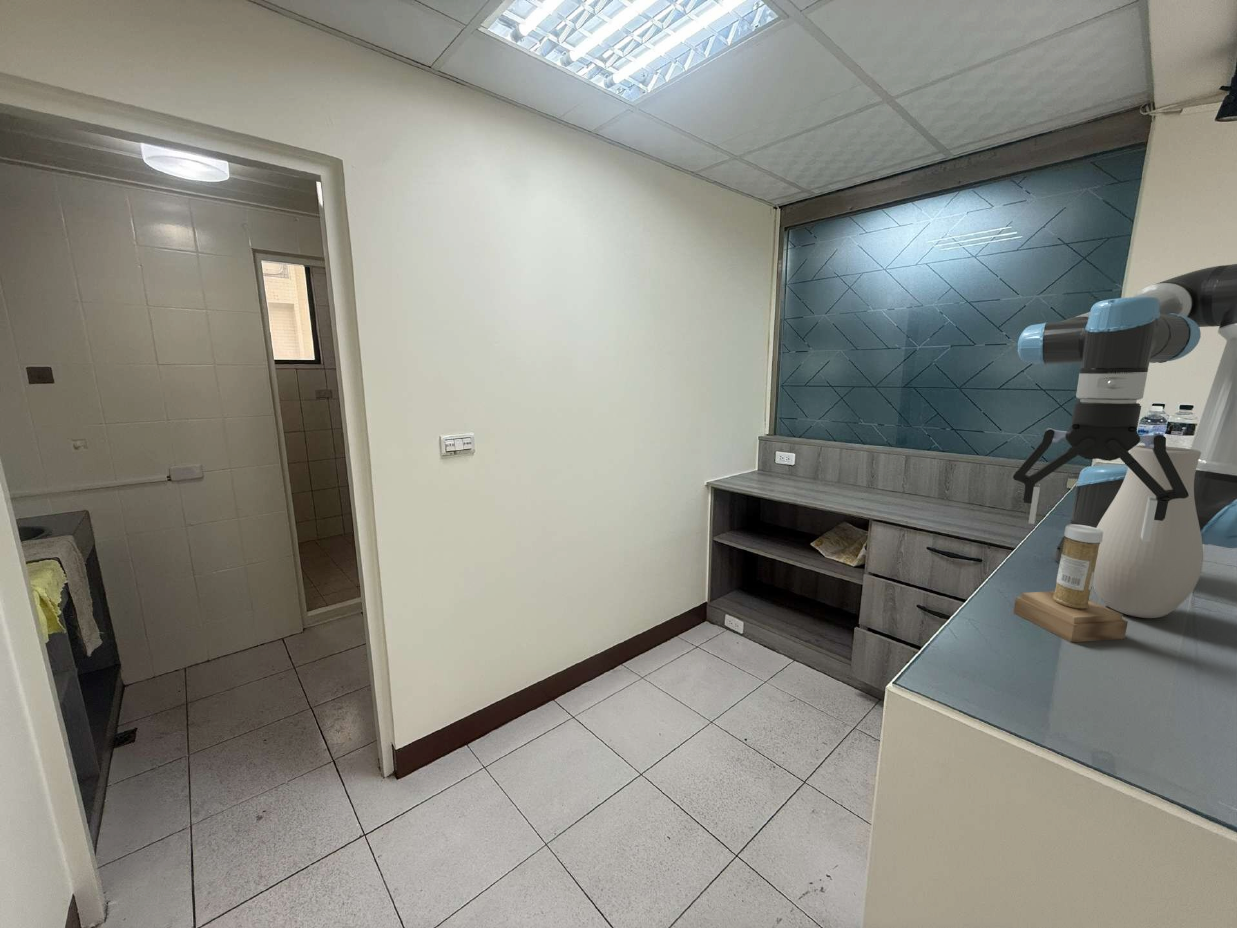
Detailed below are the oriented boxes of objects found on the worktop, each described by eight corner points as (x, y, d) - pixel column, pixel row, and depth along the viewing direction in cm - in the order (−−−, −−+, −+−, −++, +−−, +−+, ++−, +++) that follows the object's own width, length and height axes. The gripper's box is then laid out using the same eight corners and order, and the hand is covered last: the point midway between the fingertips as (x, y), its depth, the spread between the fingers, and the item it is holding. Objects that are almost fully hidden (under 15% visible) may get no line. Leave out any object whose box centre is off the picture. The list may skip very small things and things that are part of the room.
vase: (1188, 613, 88) (1226, 449, 83) (1188, 639, 79) (1231, 457, 74) (1084, 588, 98) (1112, 440, 93) (1074, 609, 89) (1104, 447, 84)
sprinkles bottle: (1095, 608, 81) (1111, 531, 79) (1074, 611, 80) (1090, 532, 78) (1065, 596, 85) (1079, 522, 83) (1044, 598, 84) (1058, 524, 82)
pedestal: (1061, 609, 89) (1065, 589, 88) (1124, 638, 79) (1129, 615, 79) (1013, 612, 88) (1016, 591, 87) (1070, 642, 78) (1075, 619, 77)
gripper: (1004, 399, 82) (988, 520, 86) (1238, 405, 66) (1205, 554, 70) (1009, 397, 88) (993, 511, 92) (1226, 402, 71) (1196, 540, 75)
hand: (1085, 530), depth 81 cm, fingers open, 13 cm apart
